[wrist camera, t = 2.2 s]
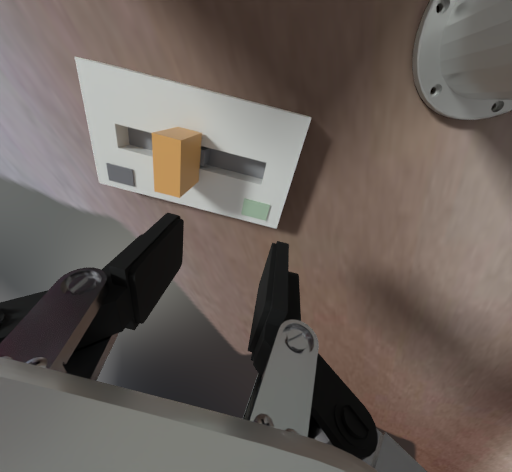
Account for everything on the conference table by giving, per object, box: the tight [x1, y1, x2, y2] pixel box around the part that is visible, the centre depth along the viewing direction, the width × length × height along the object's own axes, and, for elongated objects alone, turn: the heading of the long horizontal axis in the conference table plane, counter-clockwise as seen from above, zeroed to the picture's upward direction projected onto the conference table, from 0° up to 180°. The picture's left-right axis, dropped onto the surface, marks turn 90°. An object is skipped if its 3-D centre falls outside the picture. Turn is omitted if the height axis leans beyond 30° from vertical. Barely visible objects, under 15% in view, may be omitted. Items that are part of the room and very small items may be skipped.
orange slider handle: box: [152, 127, 210, 198], centre depth 21 cm, size 3×5×7 cm, turn 167°
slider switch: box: [75, 57, 311, 229], centre depth 24 cm, size 22×12×3 cm, turn 77°
